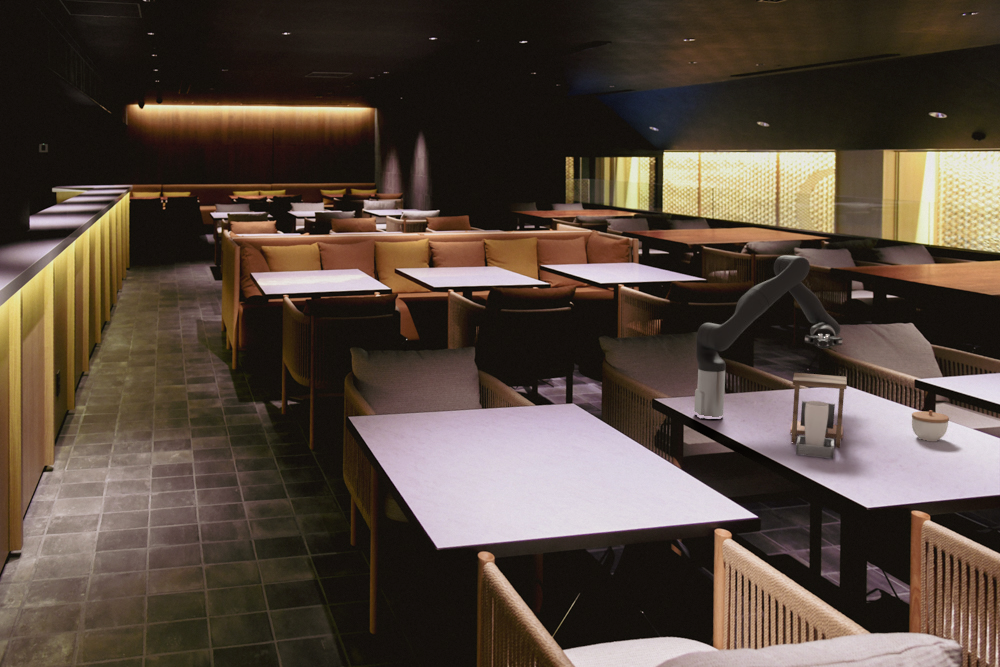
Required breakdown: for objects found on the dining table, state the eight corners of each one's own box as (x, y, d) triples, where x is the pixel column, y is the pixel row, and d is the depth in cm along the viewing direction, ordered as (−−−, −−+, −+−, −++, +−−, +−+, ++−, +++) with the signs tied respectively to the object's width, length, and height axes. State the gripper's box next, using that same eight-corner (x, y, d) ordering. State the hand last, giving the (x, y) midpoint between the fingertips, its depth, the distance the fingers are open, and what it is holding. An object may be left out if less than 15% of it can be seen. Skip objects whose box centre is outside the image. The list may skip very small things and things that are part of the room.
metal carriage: (833, 458, 256) (835, 423, 254) (795, 454, 260) (797, 420, 258) (833, 435, 279) (835, 404, 278) (799, 432, 283) (801, 400, 281)
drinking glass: (824, 448, 266) (827, 401, 264) (826, 455, 260) (830, 406, 258) (801, 447, 268) (804, 400, 266) (803, 453, 262) (806, 405, 259)
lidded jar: (912, 441, 274) (915, 413, 273) (907, 432, 285) (910, 405, 283) (949, 444, 271) (952, 416, 270) (943, 435, 282) (946, 407, 280)
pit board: (842, 439, 277) (842, 434, 277) (790, 433, 283) (790, 429, 282) (842, 429, 288) (842, 425, 288) (791, 424, 294) (792, 420, 293)
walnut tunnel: (842, 449, 266) (846, 384, 263) (788, 443, 272) (792, 379, 268) (841, 439, 277) (846, 376, 273) (790, 434, 282) (794, 372, 279)
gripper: (805, 325, 311) (803, 331, 295) (844, 327, 307) (844, 334, 291) (803, 345, 313) (801, 352, 297) (842, 348, 308) (842, 356, 292)
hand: (822, 343), depth 294 cm, fingers closed
